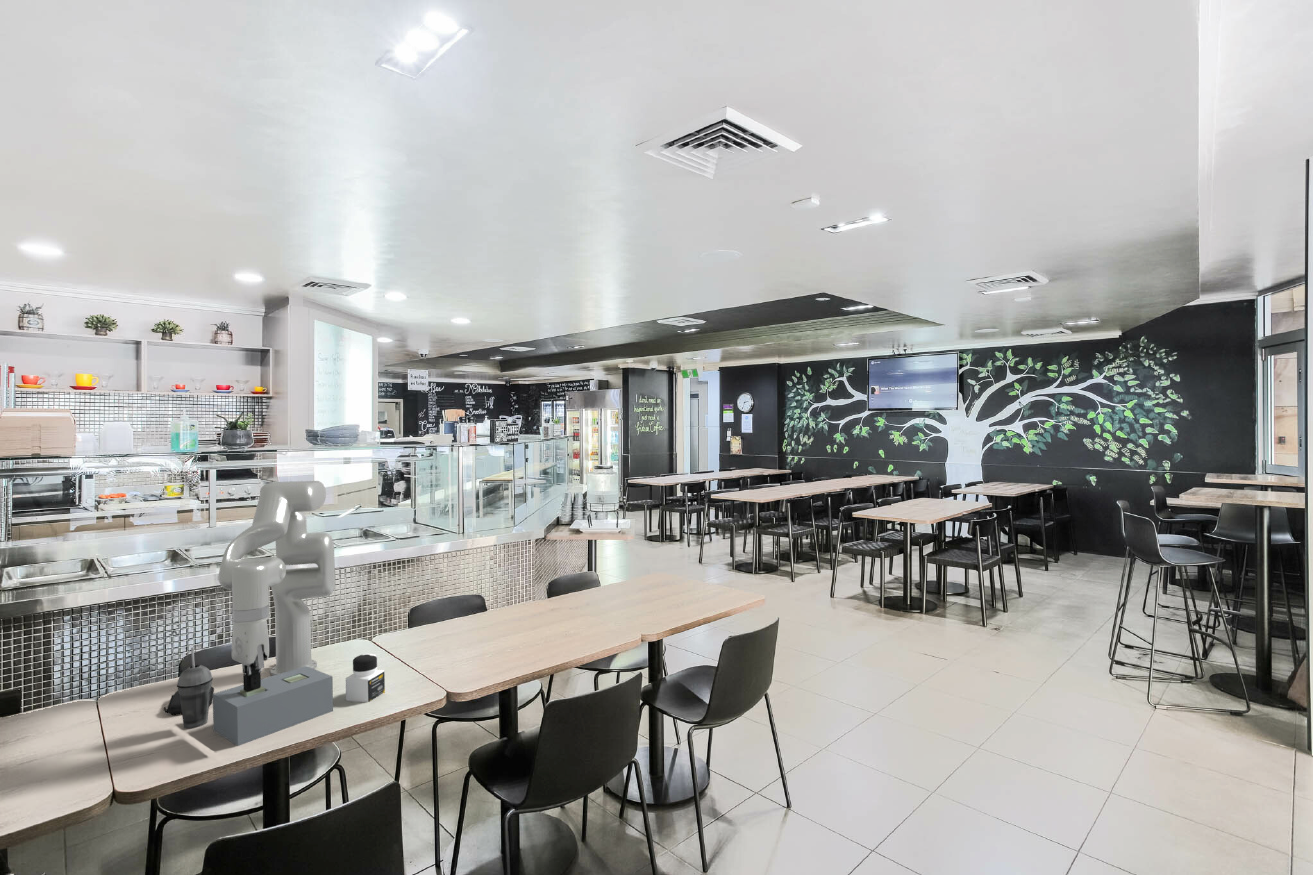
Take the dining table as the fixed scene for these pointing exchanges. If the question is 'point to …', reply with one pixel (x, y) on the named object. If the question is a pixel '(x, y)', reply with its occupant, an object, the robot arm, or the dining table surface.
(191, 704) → the beverage cup
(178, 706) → the carrying case or bag
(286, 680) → the flush peg
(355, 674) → the medicine bottle
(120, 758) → the dining table surface
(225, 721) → the socket block
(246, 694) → the proud peg
